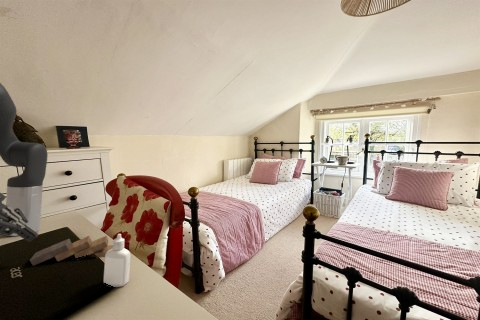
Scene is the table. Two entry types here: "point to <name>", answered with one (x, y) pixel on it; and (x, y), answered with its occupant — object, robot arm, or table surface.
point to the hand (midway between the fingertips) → (34, 238)
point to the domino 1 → (75, 248)
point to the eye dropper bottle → (117, 264)
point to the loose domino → (50, 252)
